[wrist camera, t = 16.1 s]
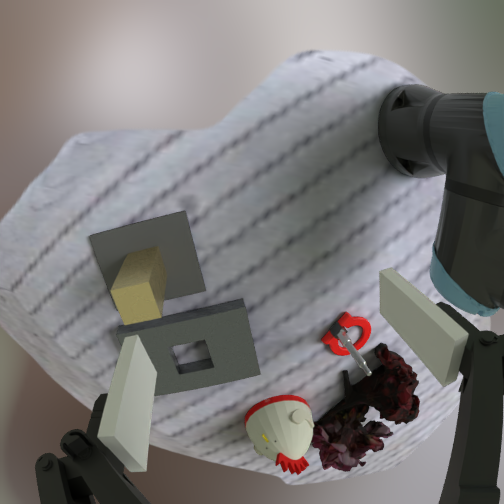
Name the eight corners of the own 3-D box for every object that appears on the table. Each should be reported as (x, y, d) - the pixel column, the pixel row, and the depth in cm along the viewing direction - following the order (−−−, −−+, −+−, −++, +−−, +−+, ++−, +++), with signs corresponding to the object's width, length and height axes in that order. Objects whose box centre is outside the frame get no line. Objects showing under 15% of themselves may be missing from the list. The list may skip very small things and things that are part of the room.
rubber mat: (185, 210, 41) (185, 211, 41) (205, 289, 46) (205, 291, 45) (90, 235, 40) (89, 236, 39) (117, 308, 44) (117, 310, 44)
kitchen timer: (273, 386, 56) (295, 448, 42) (321, 404, 60) (347, 457, 47) (231, 426, 58) (243, 485, 44) (280, 440, 63) (297, 491, 49)
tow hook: (375, 325, 55) (347, 305, 52) (413, 367, 44) (386, 351, 40) (346, 357, 57) (315, 341, 53) (377, 403, 45) (346, 392, 42)
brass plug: (158, 245, 42) (148, 281, 31) (167, 275, 43) (161, 317, 33) (127, 253, 41) (110, 290, 31) (137, 282, 43) (124, 325, 33)
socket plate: (242, 298, 47) (245, 307, 45) (257, 365, 53) (260, 374, 50) (119, 325, 45) (116, 334, 43) (149, 387, 51) (148, 397, 48)
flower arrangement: (366, 337, 56) (406, 388, 42) (421, 354, 62) (458, 394, 48) (285, 438, 63) (302, 489, 50) (346, 442, 69) (367, 484, 56)
